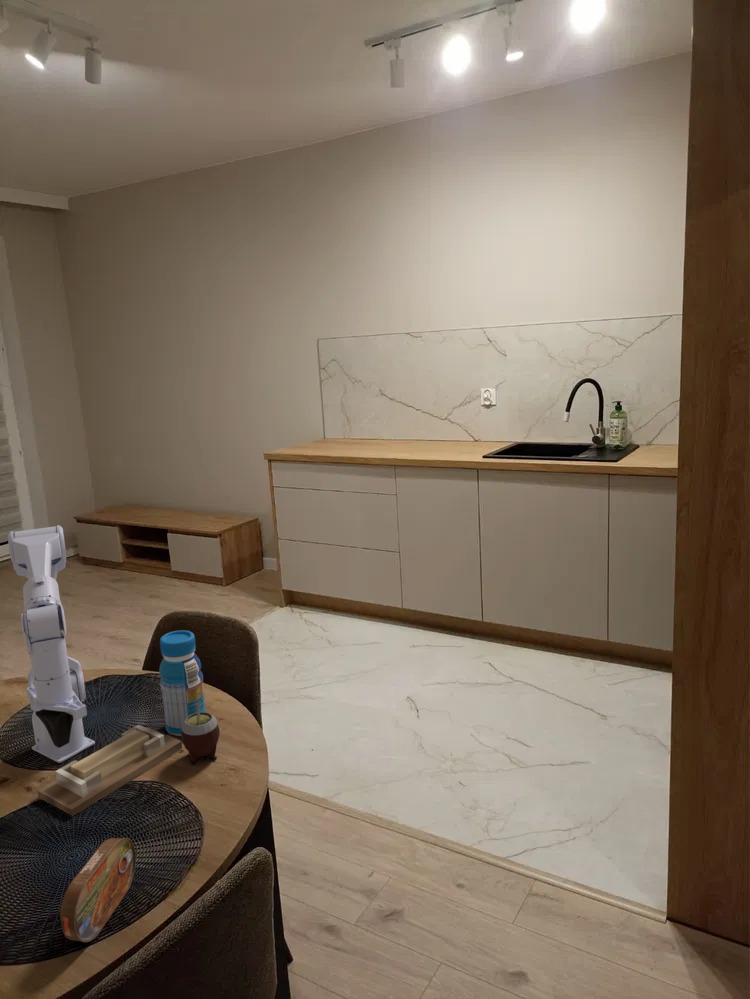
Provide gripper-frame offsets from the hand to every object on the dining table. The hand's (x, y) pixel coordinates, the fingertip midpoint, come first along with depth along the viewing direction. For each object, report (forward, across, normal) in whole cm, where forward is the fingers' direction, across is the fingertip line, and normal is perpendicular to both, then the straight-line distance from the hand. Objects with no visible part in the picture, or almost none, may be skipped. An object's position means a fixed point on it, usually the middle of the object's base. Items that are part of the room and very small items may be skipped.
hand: (62, 744), depth 128 cm
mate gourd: (+10, +13, +20) cm, 26 cm away
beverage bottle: (+10, +2, +26) cm, 28 cm away
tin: (+10, +29, -14) cm, 34 cm away
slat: (+8, +2, +8) cm, 11 cm away
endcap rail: (+9, +2, +8) cm, 13 cm away
